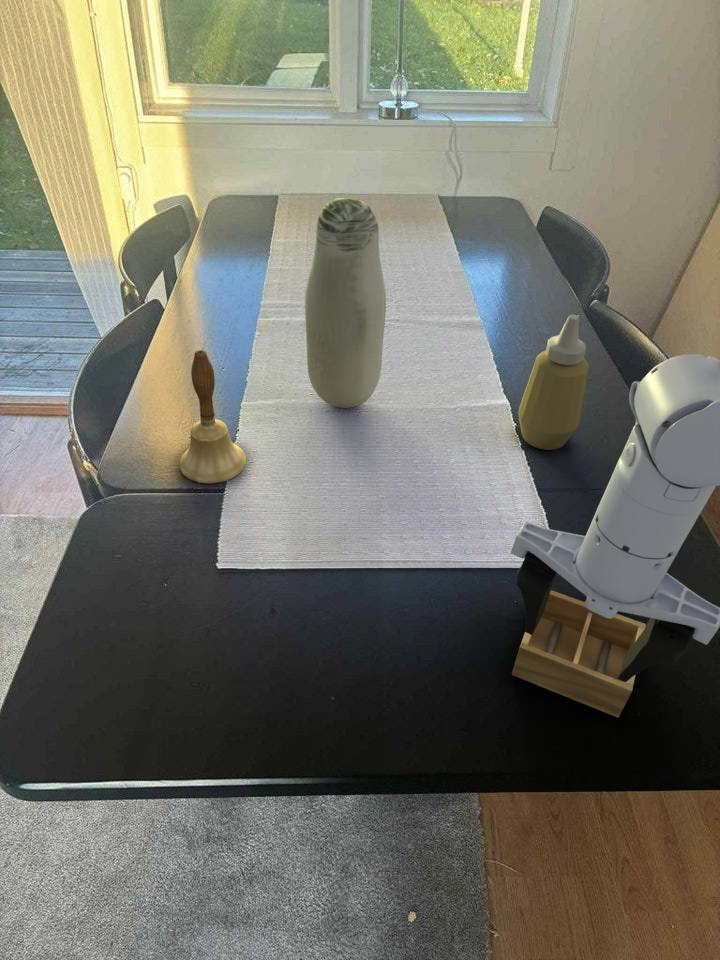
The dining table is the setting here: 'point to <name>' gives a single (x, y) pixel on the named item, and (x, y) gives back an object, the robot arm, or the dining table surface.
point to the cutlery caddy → (579, 654)
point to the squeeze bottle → (555, 390)
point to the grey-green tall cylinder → (345, 304)
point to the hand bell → (209, 434)
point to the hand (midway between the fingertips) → (577, 647)
